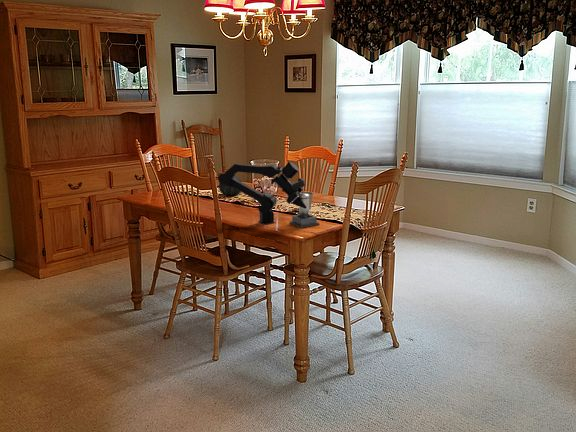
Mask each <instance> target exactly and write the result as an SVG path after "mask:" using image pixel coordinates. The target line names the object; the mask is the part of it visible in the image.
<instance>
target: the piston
mask: <svg viewBox="0 0 576 432" xmlns="http://www.w3.org/2000/svg"><path fill="white" fill-rule="evenodd" d="M299 195H301V200H302V201H303V203H304V204H305V205H306V207H307V208H306V209H305V208H302V207H300V206H298V207H299V208H298V209H299V210H298V215H299V218H301V219H303V218H309V214H310V209H309V194H307V193H301V194H299Z"/></svg>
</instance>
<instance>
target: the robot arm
mask: <svg viewBox="0 0 576 432" xmlns="http://www.w3.org/2000/svg"><path fill="white" fill-rule="evenodd" d="M299 172H300V169H299V167H298V166H297V165H295V163H293V162H291V161H288V162H287V163H286V165H285V166H283V167H279V166H278V165H277V164H264V165H259V164H257V165H256V164H255V165H254V164H246V163H240V162H236V163H234V164H233V165H231V167H230V168H228V169H227V170H226V171H224V172H222V173H220V174H219V175H218V176H217V180H218V181H217V182H218V184H219V183H220V184H222V185H225V186H229V187H233V188H235V189H237V190H239V191H241V192H240V193H243V194H245V195H247V196H248V197H250V198H251V199H254V200H255V201H257V203H258V204H259V205H260V206H259V207H258V211H259V212H258V213H259V220H258V223H259V224H262V225H268V224H274V223H275V214H274V210H273V209H274V207H275V206H276V205H277V198H276V197H275V196H274V194H271V193H269V192H268V191H266V192H264V193H262V192H260V191H258V190H256V189H254V187H251V186H250V185H248V184H246V183H244V182H243V181H241V182H240V181H239V180H237V178H236V177H235V176H236V174H237V173H245V174H246V173H248V174H259V175H262V177H263V176H264V177H266V178H271V179H270V181H271V182H270V185H273V184H274V185H275V184H276V185H277V186H278V187H279V188H280V189H281V192H283V193H285V194H286V196H287V198H286V203H287V204H289V205H290V204H292V205H295V206H298V207H299V206H300V207H302V208H305V209H306V208H307V207H306V205H305V204H304V203H303V201H302V200H301V195H299V194H301V192H302V193H303V192H304V187H306V186H307V183H306V180H305V179H304V178H301V177H299V178H298V179H297V181H295V182H293V181H290V179H292V178H294V177H295V176H296V175H297V174H298V173H299ZM279 174H280V175H279ZM234 175H235V176H234Z"/></svg>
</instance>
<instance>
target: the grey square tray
mask: <svg viewBox="0 0 576 432" xmlns="http://www.w3.org/2000/svg"><path fill="white" fill-rule="evenodd" d="M291 217H292V220H290V221H289V224H290V225H292V226H296V227H298V228H300V229H302V228H308V227H314V226H320V222H318V221H317V216H314V215H312V214H311V213H309V218H303V219H301V218H299V214H295V215H292V216H291Z"/></svg>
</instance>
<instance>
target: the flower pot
mask: <svg viewBox="0 0 576 432" xmlns="http://www.w3.org/2000/svg"><path fill="white" fill-rule="evenodd" d="M302 192H303V193H307V194H309V210H310V209H312V202H313V197H314V196H313V195H314V193H315V192H312V191H301V193H302Z"/></svg>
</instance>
